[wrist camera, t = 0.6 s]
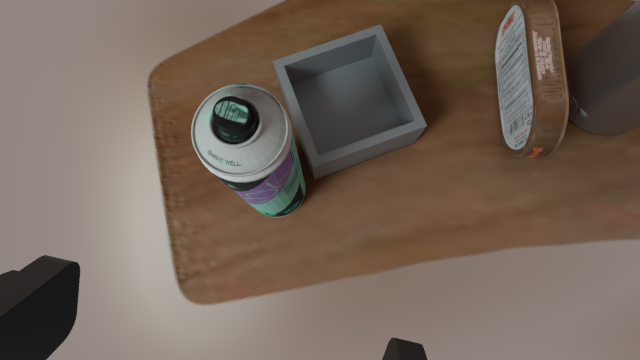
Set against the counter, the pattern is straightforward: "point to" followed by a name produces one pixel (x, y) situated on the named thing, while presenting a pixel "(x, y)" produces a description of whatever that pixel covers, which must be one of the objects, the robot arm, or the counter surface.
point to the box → (349, 101)
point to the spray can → (250, 147)
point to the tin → (531, 79)
